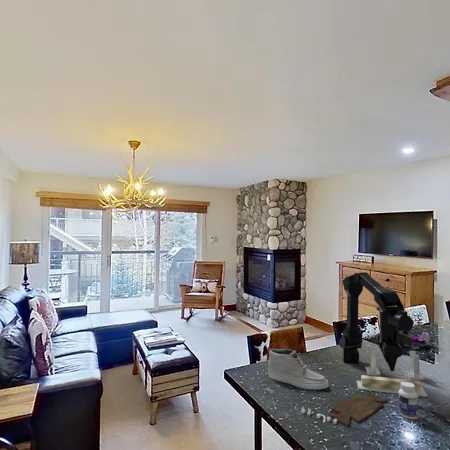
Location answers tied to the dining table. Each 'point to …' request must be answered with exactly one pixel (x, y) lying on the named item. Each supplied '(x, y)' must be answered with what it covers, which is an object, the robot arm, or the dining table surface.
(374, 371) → the hook standards
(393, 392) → the mat
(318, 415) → the figurines set
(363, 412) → the brown notched wooden board
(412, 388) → the pill bottle
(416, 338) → the figurine
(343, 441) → the dining table surface
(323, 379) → the chukka sneaker
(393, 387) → the rail
